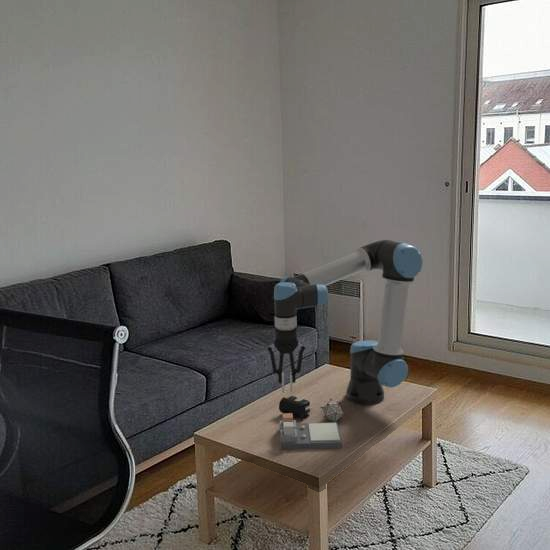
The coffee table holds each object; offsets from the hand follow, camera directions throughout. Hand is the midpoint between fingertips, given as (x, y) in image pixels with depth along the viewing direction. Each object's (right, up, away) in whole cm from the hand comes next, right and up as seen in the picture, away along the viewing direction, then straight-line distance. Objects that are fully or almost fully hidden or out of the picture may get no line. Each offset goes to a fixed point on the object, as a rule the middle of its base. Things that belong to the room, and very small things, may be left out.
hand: (287, 391), depth 234 cm
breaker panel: (+8, -17, 0) cm, 18 cm away
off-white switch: (0, -14, -4) cm, 15 cm away
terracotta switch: (0, -12, +3) cm, 13 cm away
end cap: (+3, -13, +18) cm, 23 cm away
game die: (+17, -14, +13) cm, 26 cm away
